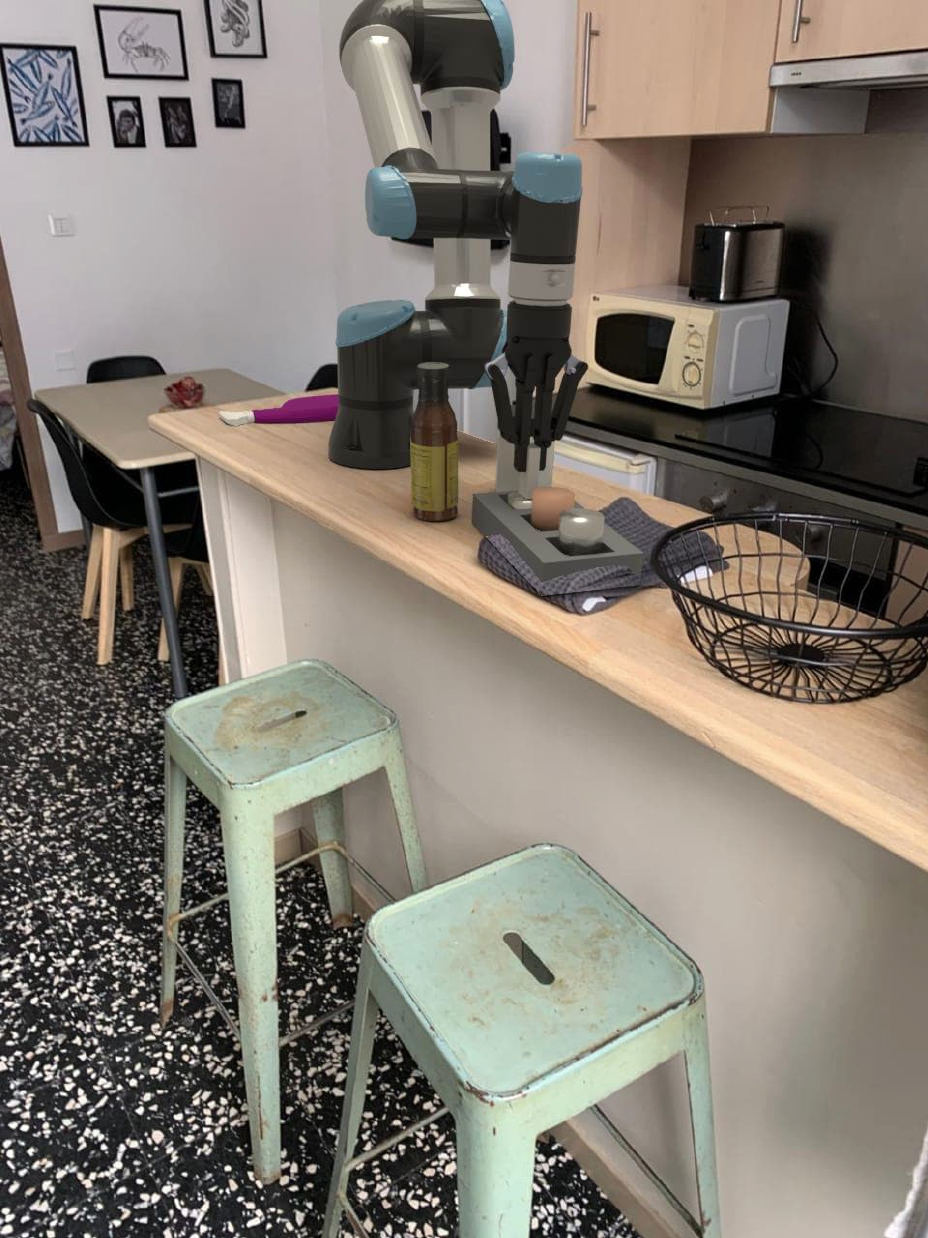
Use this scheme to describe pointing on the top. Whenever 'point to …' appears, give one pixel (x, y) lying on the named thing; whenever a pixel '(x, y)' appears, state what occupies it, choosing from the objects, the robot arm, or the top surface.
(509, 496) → the knob
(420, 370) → the sauce bottle
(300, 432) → the top surface
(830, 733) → the top surface
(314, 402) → the spray bottle
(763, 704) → the top surface
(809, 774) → the top surface
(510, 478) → the jar
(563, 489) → the middle knob
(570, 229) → the robot arm
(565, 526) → the knob
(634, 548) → the knob mount
